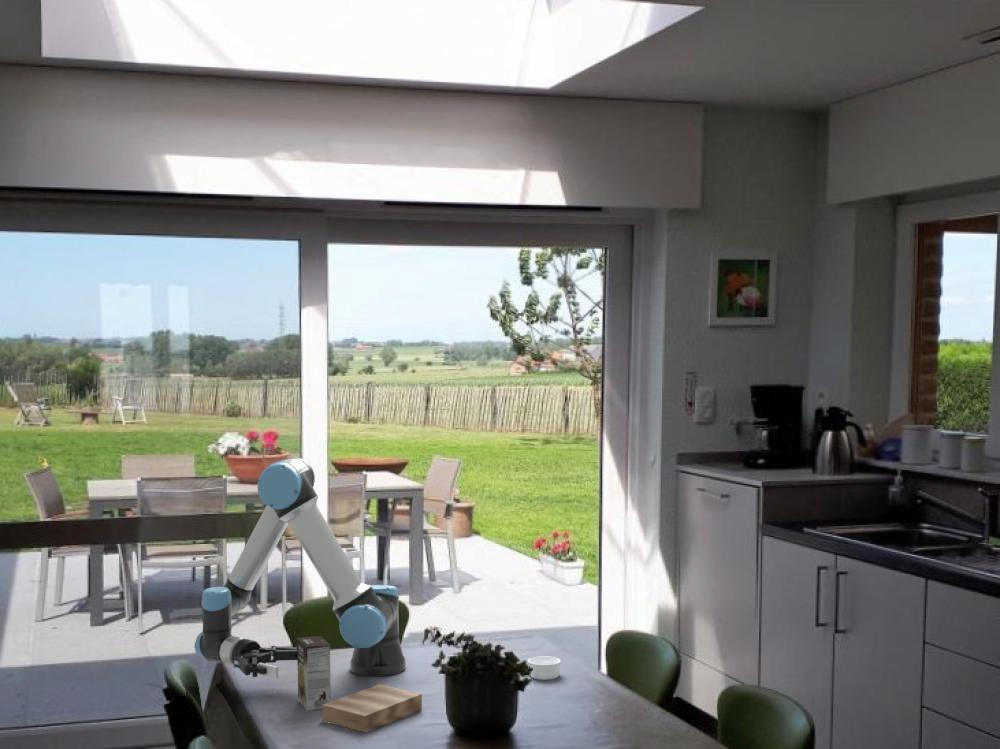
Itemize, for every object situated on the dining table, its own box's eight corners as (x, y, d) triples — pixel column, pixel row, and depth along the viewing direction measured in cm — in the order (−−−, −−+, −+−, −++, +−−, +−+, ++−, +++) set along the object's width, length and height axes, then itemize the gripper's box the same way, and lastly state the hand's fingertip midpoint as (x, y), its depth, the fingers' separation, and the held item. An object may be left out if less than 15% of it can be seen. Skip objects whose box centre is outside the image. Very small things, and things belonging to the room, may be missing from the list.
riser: (379, 699, 301) (379, 684, 301) (421, 710, 292) (421, 694, 292) (322, 721, 285) (322, 704, 285) (365, 732, 277) (365, 715, 276)
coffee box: (297, 701, 301) (296, 637, 300) (322, 697, 303) (321, 634, 303) (306, 711, 292) (304, 646, 292) (331, 708, 295) (330, 643, 294)
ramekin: (526, 671, 325) (526, 656, 324) (559, 671, 325) (559, 655, 325) (528, 681, 316) (528, 665, 316) (562, 680, 316) (562, 664, 316)
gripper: (277, 656, 323) (333, 669, 310) (203, 678, 303) (259, 693, 290) (277, 628, 323) (332, 640, 310) (203, 649, 303) (259, 662, 290)
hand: (297, 666), depth 300 cm, fingers open, 13 cm apart
